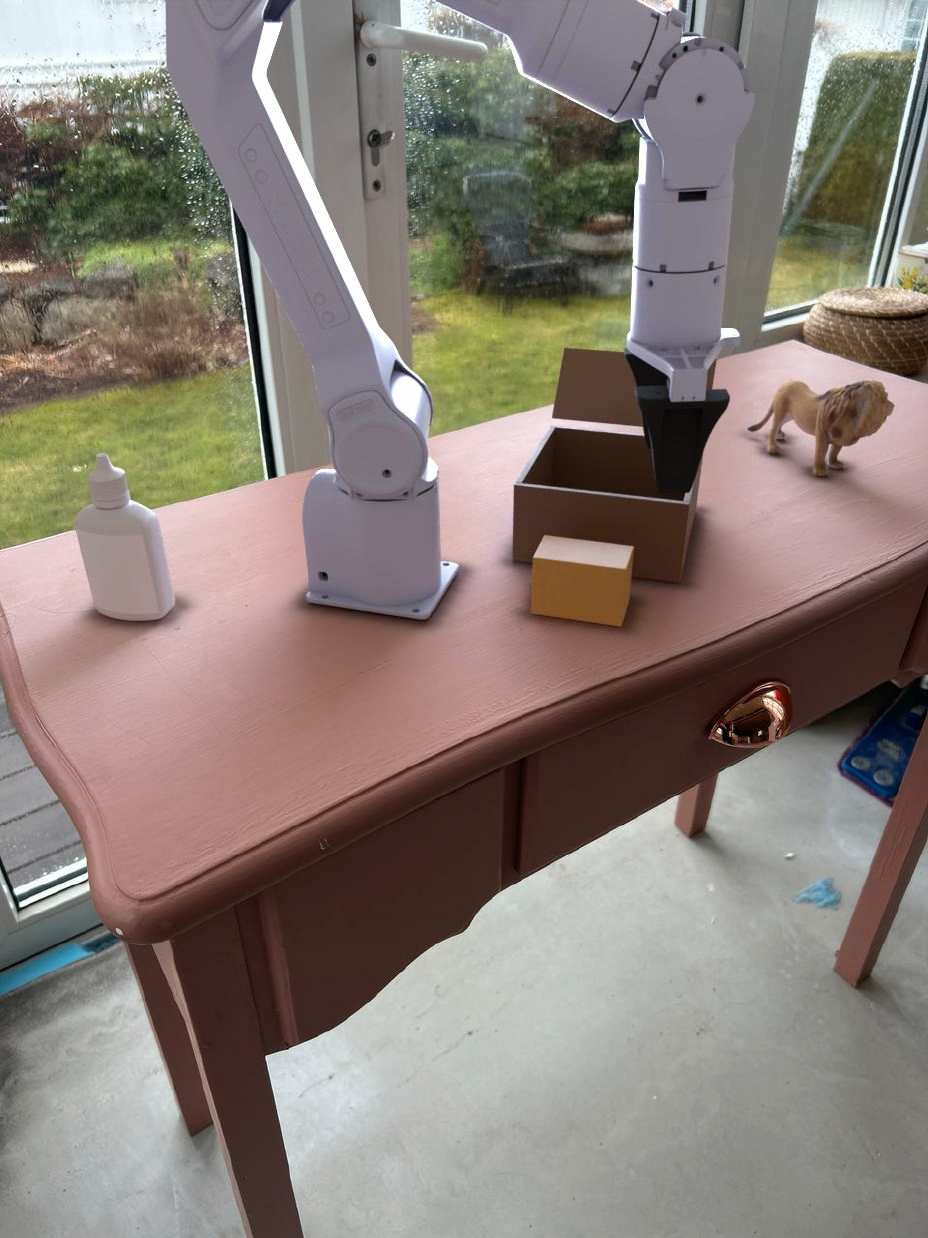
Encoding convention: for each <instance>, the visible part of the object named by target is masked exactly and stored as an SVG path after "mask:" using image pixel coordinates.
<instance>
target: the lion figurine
mask: <svg viewBox="0 0 928 1238" xmlns="http://www.w3.org/2000/svg"><path fill="white" fill-rule="evenodd" d="M888 396H889V393H888V392H887V391H886V387H885V386H884V384H883V382H882V381H878V380H875V379H862V380H860V381H857V382H854V383H851V384H846V385H845V386H840V387H838V388H836V387H833V388H830V389H828V390H827V391H826V392H824V393H823V394H818V393H816V392H814V391H813V390H811V388H810V387H809V385H808V384H807V383H805V382H803V381H800V380H795V379H788V380H785V381H783V382H782V383H781V384H780V385H779V387H778V388H777V390H776V392H775V394H774V397H773V399H772V402H771V404H770V406H769V408H768V411H767V412H766V414H765V416H764V418H763V419H762V420H761V421H759V422H758V423H755V424H752V425H751V426H749V427H747V428H746V430H747V431H748V432H751V433H754V432H757V431H760V430H761V429H762V428H763V427H764V426H765V425H766V424H767V423H768V422H769V420H770V419H771V417H772V416H773V417H772V424H771V427H770V429H769V431H768V443H767V447H766V450H767V452H768V453H770V454H777V453H780V452H781V447H780V446H779V445H778V443H777V440H782V439H785V437H786V433H785V432H784V431H783V430H782V427H783V426H784V425H786V424H787V423H789V422H791V421H793V422H794V423H795V425H796V426H797V427H798V428H799V429H800V430H801V431H802V432H804V433H806V434H807V435H810V436H814V437H815V446H814V457H813V463H812V464H813V465H812V473H813V475H815V476H817V477H824V476H827V474H828V470H827V469H826V463H827V465H828V466H829V467H830V468H832V469H835V470H839V469H842V468H843V466H844V462H843V461H842V460H839V459H838V455H840V452H841V450H842V448H843V447H852V446H853V445H855V444H857V443H858V442H859V440H860V439H863V438H866V437H871V436H873V435H874V434H876V433H877V432H878V430H879V429H880V430H881V428H882V426H883V425H884V424H885V423H886V421H887V417H889V416H891V415H892V414H893V411H894V408H895V404H894V402H892V401H890V399H888ZM829 447H830V448H829ZM826 458H827V459H826Z"/></svg>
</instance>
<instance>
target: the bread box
mask: <svg viewBox="0 0 928 1238" xmlns="http://www.w3.org/2000/svg"><path fill="white" fill-rule="evenodd" d="M703 458H704V454H703V455H702V458H701V461H700V465H699V468H698V471H697V474H696V478H695V481H694V483H693V486H692V488H691V491H690V492H689V493H665V494H661V493H659V492H658V489H657V485H656V480H655V475H654V468H653V458H652V449H648V448H647V445H646V441H645V437H644V433H639V432H638V433H636V432H627V431H617V430H605V429H598V428H597V429H594V428H584V427H573V426H564V425H553V424H551V425H550V426H549V428H548V429H547V430H546V433H545V434H544V435H543V437H542V439H541V441H540V442H539V444H538V446H537V447H536V449H535V450H534V452H533V454H532V455H531V457H530V459H529V460H528V462H527V463H526V465H525V467H524V468H523V469H522V471H521V473H520V474H519V476H518V478H517V479H516V481H515V483H514V484H513V505H512V506H513V507H512V509H513V510H512V559H511V560H512V562H518V563H520V562H521V563H527V564H533V557H534V555H535V553H536V551H537V549H538V547H539V545H540V543H541V541H542V539H543V537H544V535H548V536H556V537H564V538H572V539H580V540H588V541H596V542H604V543H612V544H620V545H628V546H634V554H633V565H632V576H631V578H639V579H647V580H653V581H662V582H667V583H668V582H669V583H677V584H680V583H681V580H682V574H683V571H684V566H685V561H686V557H687V552H688V547H689V543H690V539H691V535H692V529H693V525H694V521H695V516H696V512H697V506H698V505H697V504H698V497H699V489H700V482H701V473H702V467H703Z"/></svg>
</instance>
